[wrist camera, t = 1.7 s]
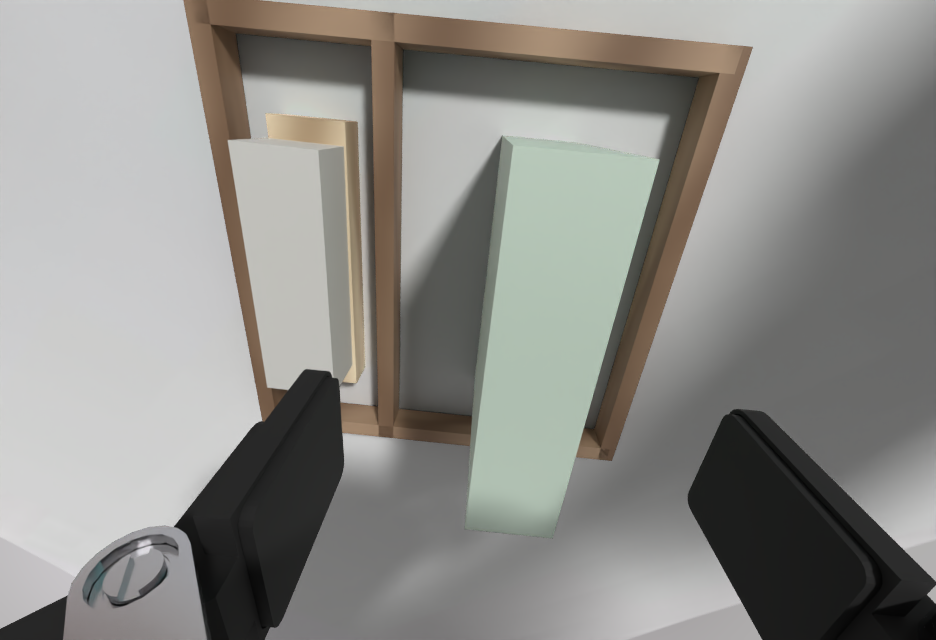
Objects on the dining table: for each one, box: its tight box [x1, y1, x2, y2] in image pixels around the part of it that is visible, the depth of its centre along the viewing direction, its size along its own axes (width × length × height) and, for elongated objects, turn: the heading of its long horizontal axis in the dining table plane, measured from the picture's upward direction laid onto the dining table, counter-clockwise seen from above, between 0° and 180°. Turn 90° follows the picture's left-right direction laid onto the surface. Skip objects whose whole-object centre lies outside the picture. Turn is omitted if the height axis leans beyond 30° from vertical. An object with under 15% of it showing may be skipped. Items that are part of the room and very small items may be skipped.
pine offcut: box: [266, 113, 365, 383], centre depth 18 cm, size 3×12×2 cm, turn 175°
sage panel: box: [465, 135, 659, 539], centre depth 15 cm, size 3×12×9 cm, turn 175°
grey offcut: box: [228, 138, 353, 390], centre depth 16 cm, size 3×10×2 cm, turn 174°
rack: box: [184, 0, 753, 461], centre depth 18 cm, size 19×19×2 cm
